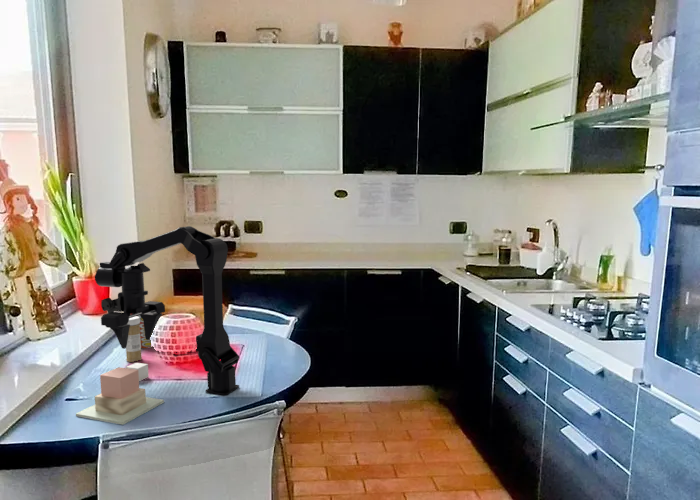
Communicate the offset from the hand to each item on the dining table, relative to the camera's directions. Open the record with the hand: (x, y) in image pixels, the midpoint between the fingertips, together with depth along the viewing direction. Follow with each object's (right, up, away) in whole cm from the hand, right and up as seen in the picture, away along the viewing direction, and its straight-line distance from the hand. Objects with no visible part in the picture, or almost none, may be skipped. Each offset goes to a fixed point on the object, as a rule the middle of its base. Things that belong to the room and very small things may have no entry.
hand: (136, 343), depth 155 cm
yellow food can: (-11, -6, +34) cm, 36 cm away
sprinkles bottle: (-8, -8, +18) cm, 21 cm away
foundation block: (+4, -12, -19) cm, 23 cm away
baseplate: (+4, -13, -19) cm, 23 cm away
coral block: (+4, -8, -20) cm, 22 cm away
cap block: (0, -10, +1) cm, 10 cm away
